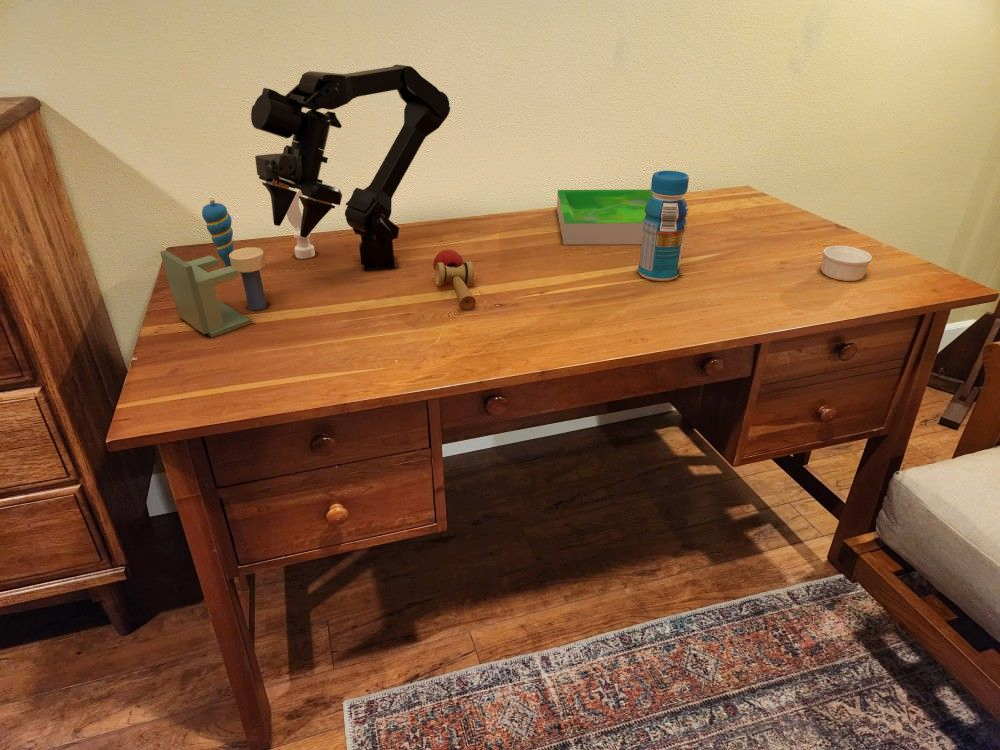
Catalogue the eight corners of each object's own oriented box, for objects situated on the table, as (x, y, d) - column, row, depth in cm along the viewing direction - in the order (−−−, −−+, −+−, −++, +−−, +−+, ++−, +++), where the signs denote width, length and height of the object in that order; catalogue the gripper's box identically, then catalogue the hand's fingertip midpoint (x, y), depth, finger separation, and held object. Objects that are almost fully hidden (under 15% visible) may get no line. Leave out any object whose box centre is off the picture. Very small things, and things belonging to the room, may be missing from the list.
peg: (275, 298, 127) (264, 246, 122) (272, 311, 122) (261, 257, 117) (243, 301, 126) (231, 248, 121) (239, 315, 121) (226, 260, 116)
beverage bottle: (629, 274, 135) (639, 175, 125) (651, 263, 141) (663, 166, 130) (665, 286, 131) (679, 183, 120) (687, 273, 136) (702, 174, 125)
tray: (675, 244, 150) (678, 222, 147) (563, 244, 150) (564, 222, 148) (654, 208, 171) (657, 189, 169) (556, 209, 172) (557, 189, 169)
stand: (221, 305, 125) (205, 238, 118) (251, 323, 118) (235, 254, 112) (178, 319, 120) (158, 250, 113) (206, 339, 113) (187, 268, 107)
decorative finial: (294, 259, 144) (273, 139, 131) (293, 253, 147) (272, 134, 134) (322, 256, 145) (304, 136, 132) (320, 249, 149) (302, 132, 136)
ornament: (233, 273, 138) (216, 201, 130) (210, 272, 139) (192, 200, 131) (246, 264, 142) (230, 194, 134) (224, 262, 143) (207, 192, 135)
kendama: (492, 312, 124) (466, 264, 138) (486, 284, 120) (460, 237, 133) (452, 324, 123) (430, 275, 137) (445, 296, 119) (423, 248, 132)
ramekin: (875, 276, 134) (882, 256, 131) (847, 286, 130) (853, 265, 128) (836, 262, 140) (841, 242, 138) (808, 271, 136) (813, 250, 134)
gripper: (241, 125, 119) (224, 211, 123) (297, 141, 108) (276, 235, 112) (295, 142, 128) (278, 222, 131) (352, 159, 117) (332, 246, 120)
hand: (289, 231), depth 123 cm, fingers open, 9 cm apart
